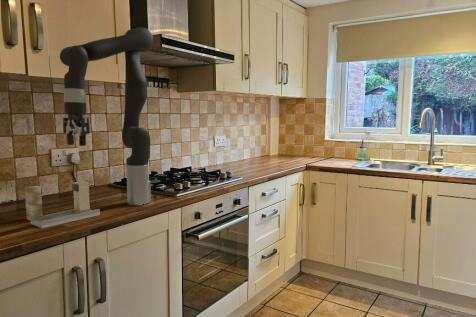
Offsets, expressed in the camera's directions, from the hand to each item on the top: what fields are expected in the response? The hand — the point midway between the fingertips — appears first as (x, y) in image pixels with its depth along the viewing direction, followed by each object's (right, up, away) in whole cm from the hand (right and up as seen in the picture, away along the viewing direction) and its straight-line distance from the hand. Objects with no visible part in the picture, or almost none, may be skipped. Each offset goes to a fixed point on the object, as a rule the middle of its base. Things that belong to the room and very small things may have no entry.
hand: (76, 145), depth 139 cm
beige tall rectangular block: (-15, -27, -1) cm, 31 cm away
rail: (-3, -27, -2) cm, 28 cm away
